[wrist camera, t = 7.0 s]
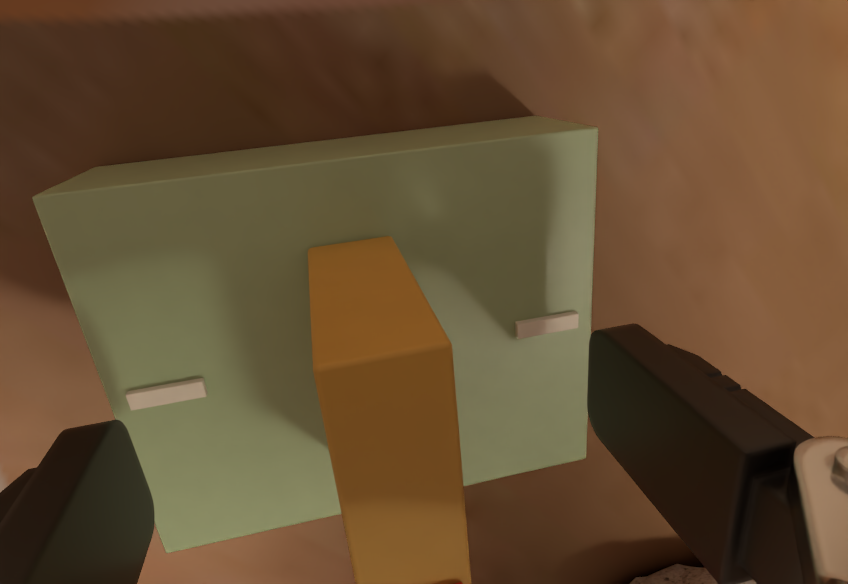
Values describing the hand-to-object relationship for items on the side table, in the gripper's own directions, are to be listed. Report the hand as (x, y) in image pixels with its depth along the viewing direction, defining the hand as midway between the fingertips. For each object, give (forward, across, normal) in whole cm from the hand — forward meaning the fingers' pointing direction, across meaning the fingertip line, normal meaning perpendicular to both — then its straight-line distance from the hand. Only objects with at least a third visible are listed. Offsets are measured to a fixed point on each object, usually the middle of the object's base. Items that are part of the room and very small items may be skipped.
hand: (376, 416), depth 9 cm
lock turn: (+2, 0, 0) cm, 2 cm away
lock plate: (+5, 0, 0) cm, 5 cm away
